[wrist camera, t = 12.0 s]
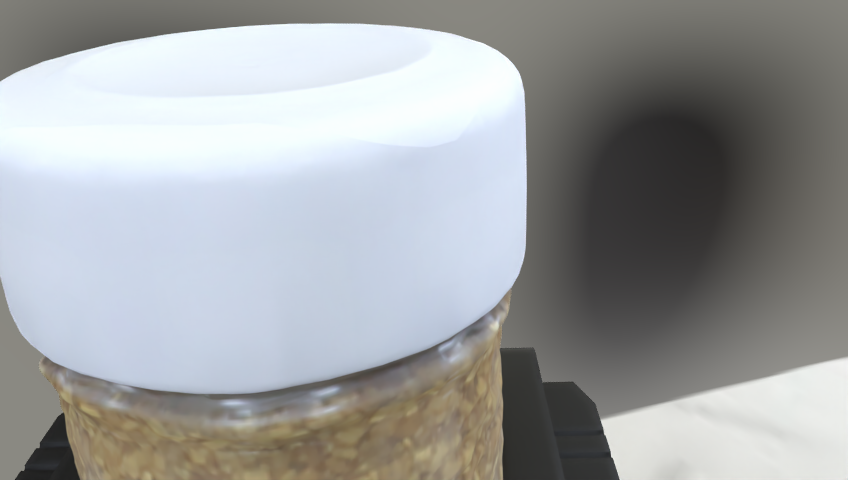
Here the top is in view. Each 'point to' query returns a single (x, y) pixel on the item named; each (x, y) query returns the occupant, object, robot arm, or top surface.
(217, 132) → the brown spice jar
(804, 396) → the top surface
